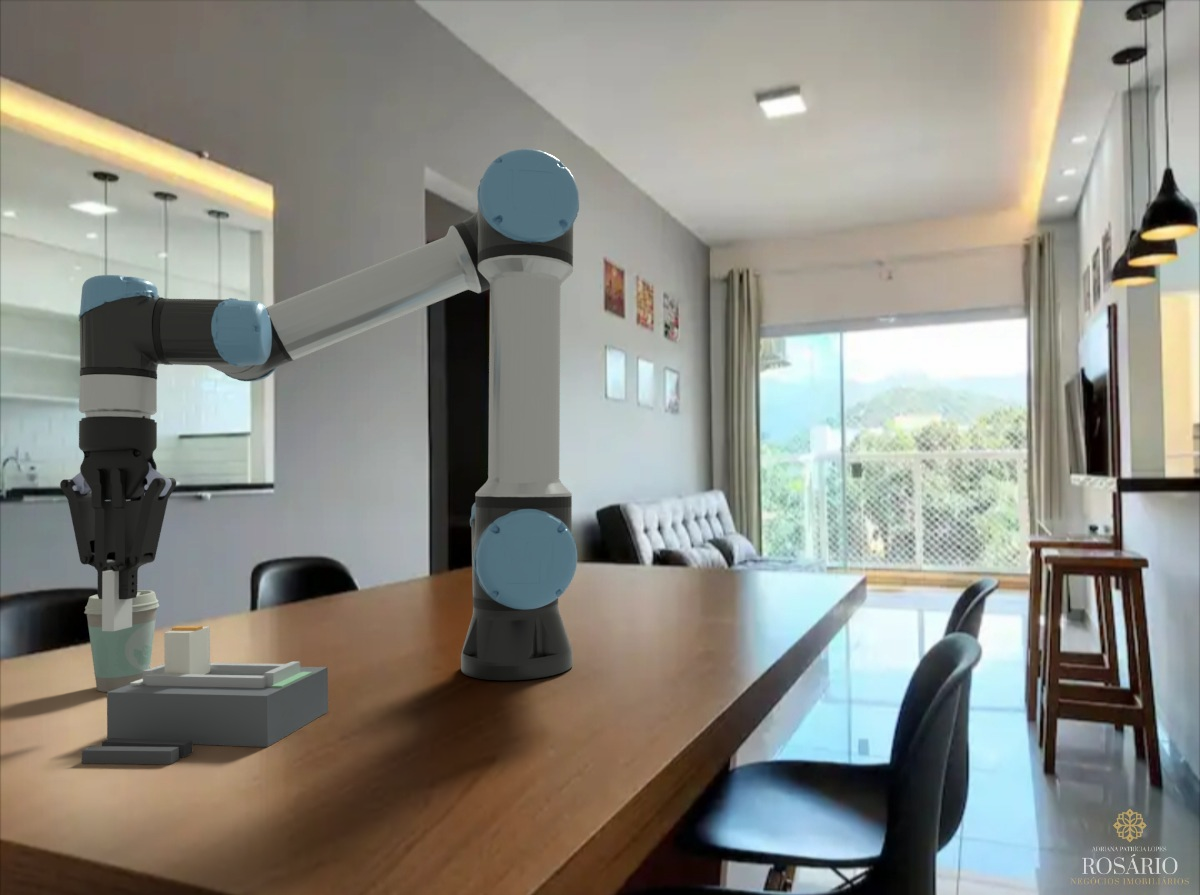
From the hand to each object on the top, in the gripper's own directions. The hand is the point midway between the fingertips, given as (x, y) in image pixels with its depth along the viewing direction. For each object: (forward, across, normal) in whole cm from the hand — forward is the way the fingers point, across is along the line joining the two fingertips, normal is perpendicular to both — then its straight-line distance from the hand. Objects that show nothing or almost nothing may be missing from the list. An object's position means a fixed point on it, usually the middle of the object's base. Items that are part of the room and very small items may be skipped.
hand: (117, 628), depth 91 cm
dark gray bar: (+10, -11, +11) cm, 19 cm away
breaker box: (+10, -13, 0) cm, 16 cm away
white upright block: (+5, -9, 0) cm, 10 cm away
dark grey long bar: (+10, -11, +9) cm, 17 cm away
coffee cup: (+11, +12, -15) cm, 22 cm away
